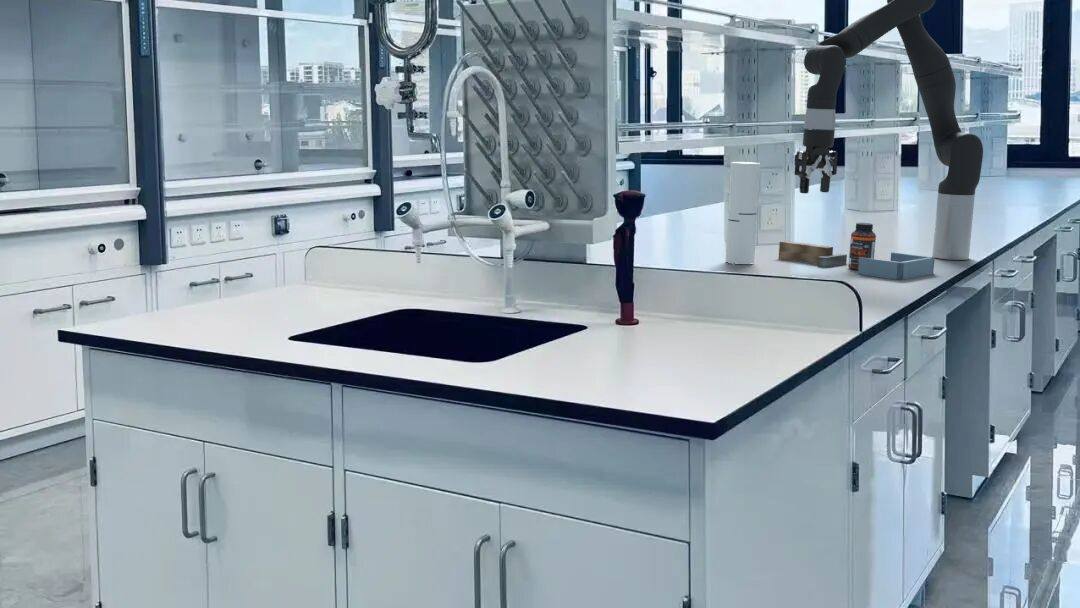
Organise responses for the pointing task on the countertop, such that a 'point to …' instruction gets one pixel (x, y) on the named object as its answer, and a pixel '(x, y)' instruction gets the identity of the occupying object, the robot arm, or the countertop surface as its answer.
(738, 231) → the cylindrical container
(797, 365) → the countertop surface
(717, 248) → the countertop surface
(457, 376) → the countertop surface
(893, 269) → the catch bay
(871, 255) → the supplement bottle
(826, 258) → the scraper
